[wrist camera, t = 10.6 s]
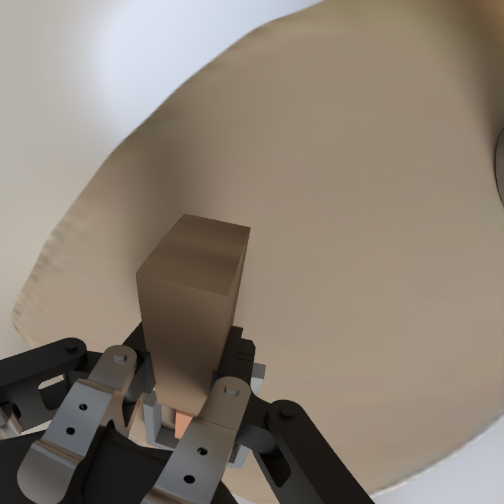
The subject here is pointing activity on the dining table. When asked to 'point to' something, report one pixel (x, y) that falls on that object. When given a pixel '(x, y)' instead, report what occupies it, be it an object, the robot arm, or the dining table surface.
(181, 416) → the tile
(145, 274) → the brown and grey scraper
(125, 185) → the dining table surface
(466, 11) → the dining table surface
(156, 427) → the bay
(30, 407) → the robot arm
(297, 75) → the dining table surface
